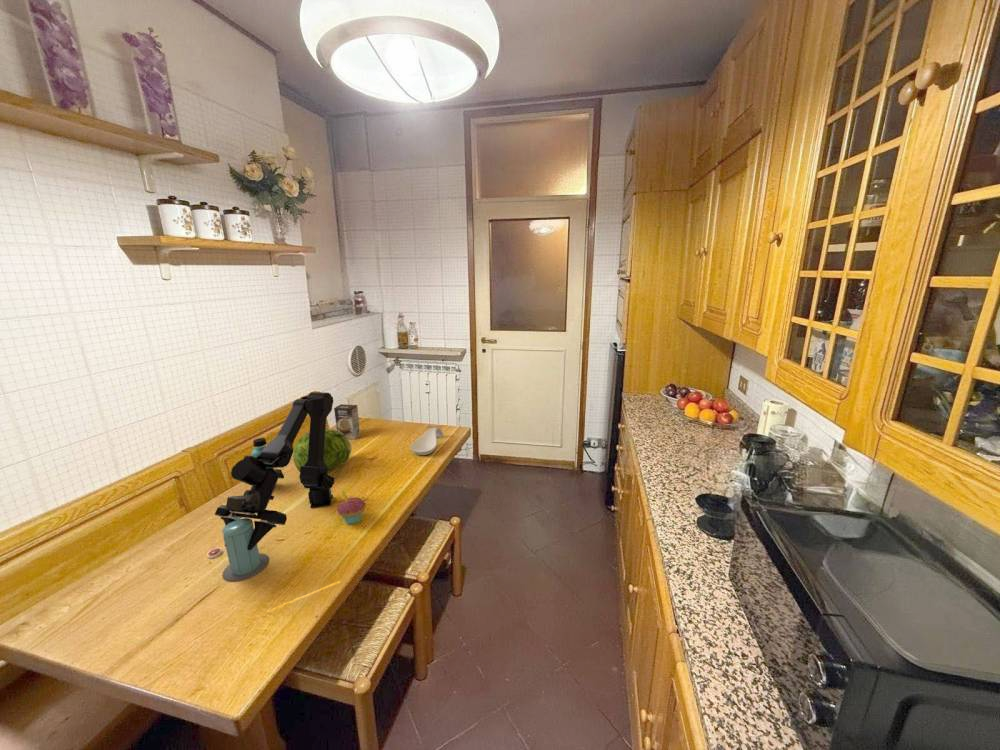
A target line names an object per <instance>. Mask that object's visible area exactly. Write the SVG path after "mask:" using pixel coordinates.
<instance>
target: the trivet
mask: <svg viewBox="0 0 1000 750" xmlns="http://www.w3.org/2000/svg"><path fill="white" fill-rule="evenodd" d="M259 555H260V560H261V564H260V565H259V566H258V567H257V568H256V569H255V570H254V571H252V572H250V573H247V574H244V575H241V576H240V575H233V574H232V572H231V568H230V564H228V565H227V566H226V567H225V568H224V570H223V572H222V576H221V577H222V579H223V580H224V581H225V582H228V583H237V582H239V583H240V582H243V581H246V580H249V579H251V578H253V577H255V576H257V575H259V574H260V573H261V572H263V571H264V570H265V569H266V568H267V566H268V565H269V564H270V563H269V562H270V557H269V556H268V555H267V554H265V553H260V552H259Z"/></svg>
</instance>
